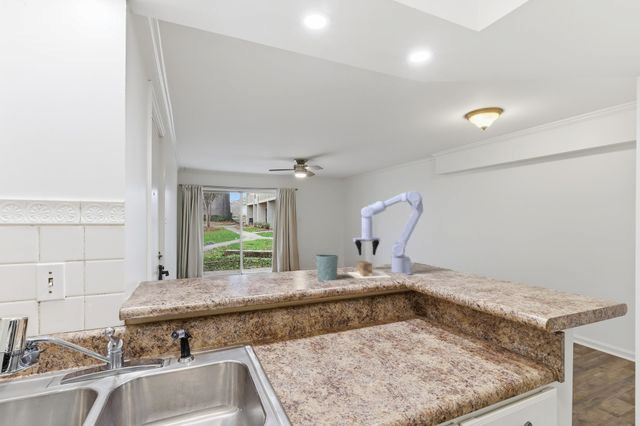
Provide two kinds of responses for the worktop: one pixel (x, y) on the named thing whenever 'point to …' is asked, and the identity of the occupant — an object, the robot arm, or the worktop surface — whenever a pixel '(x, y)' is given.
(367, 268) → the sanding block
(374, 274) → the board
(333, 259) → the teal pot
